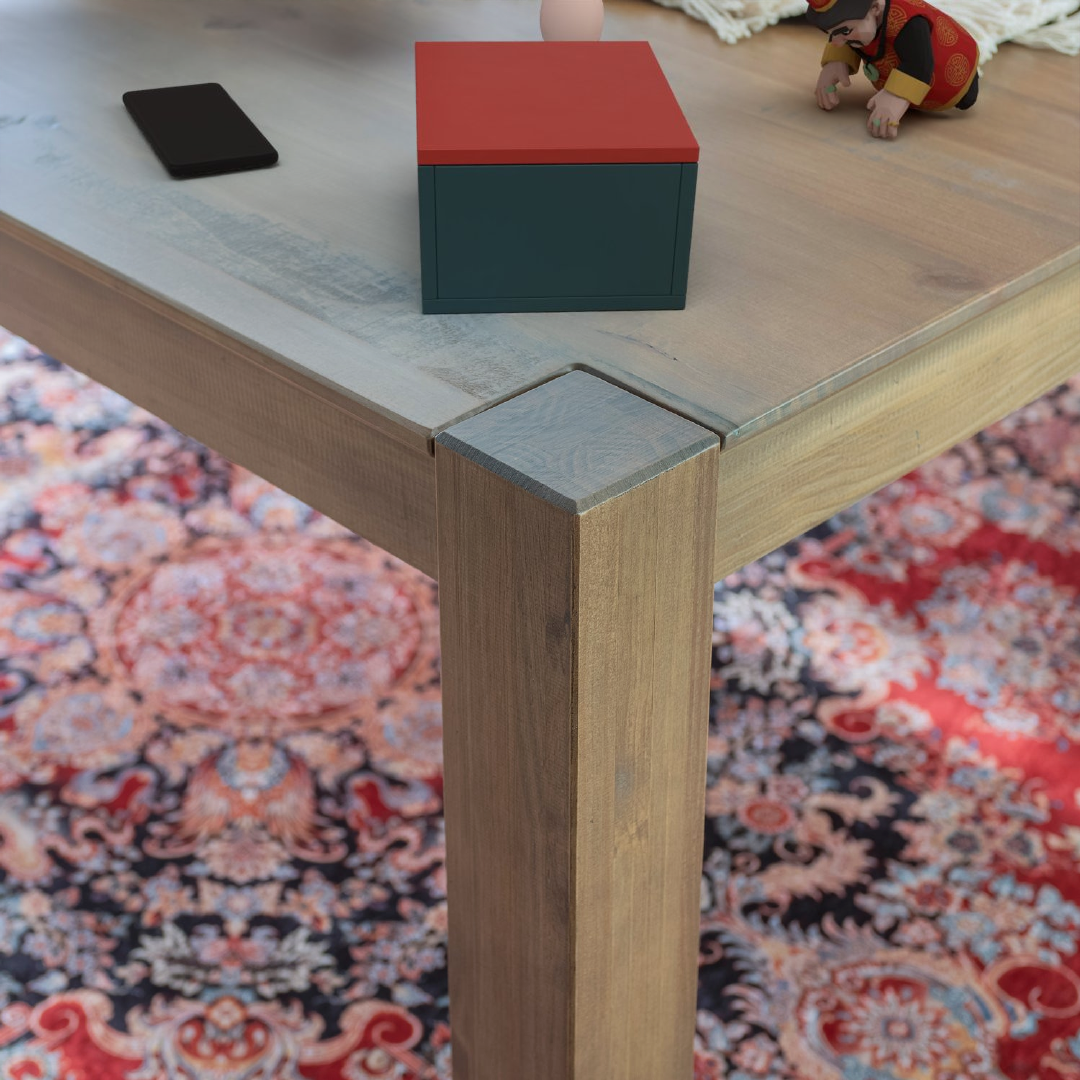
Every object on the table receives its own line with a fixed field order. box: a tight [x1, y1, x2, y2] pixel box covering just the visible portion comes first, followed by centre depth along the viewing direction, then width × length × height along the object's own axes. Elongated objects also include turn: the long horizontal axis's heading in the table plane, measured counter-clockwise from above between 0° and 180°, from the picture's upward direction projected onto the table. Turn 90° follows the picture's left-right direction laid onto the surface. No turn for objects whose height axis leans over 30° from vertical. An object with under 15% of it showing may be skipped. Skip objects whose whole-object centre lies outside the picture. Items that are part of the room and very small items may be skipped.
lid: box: [414, 40, 701, 165], centre depth 73 cm, size 17×14×1 cm
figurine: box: [805, 0, 981, 139], centre depth 93 cm, size 10×10×15 cm
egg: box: [539, 0, 605, 41], centre depth 103 cm, size 5×5×7 cm
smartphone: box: [121, 82, 280, 178], centre depth 90 cm, size 7×1×15 cm
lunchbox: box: [416, 162, 699, 314], centre depth 75 cm, size 17×14×8 cm
